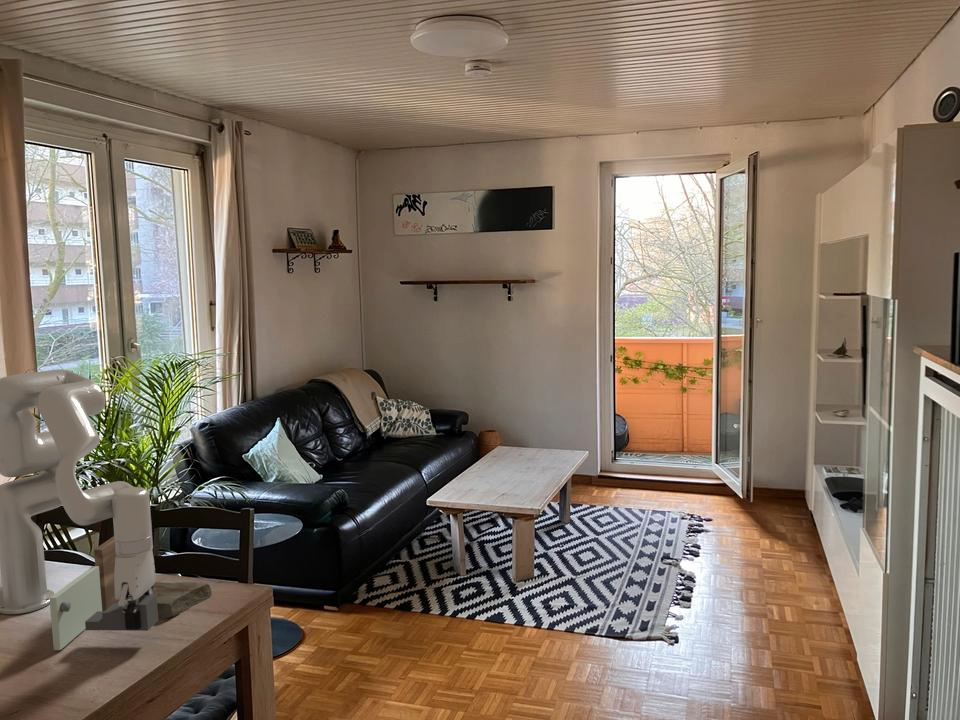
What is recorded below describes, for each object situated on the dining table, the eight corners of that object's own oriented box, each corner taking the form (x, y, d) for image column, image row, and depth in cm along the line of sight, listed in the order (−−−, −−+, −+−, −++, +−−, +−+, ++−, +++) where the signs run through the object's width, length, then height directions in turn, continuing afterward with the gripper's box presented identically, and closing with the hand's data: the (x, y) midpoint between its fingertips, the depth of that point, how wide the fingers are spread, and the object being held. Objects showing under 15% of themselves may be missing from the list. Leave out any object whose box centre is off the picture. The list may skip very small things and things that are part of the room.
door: (53, 650, 169) (49, 597, 168) (96, 613, 187) (92, 566, 185) (65, 650, 169) (61, 597, 168) (107, 613, 187) (103, 566, 185)
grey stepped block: (85, 630, 171) (83, 604, 170) (97, 619, 176) (95, 594, 175) (148, 630, 170) (146, 604, 169) (158, 620, 175) (156, 594, 174)
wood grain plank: (98, 612, 188) (94, 549, 186) (126, 589, 202) (122, 530, 200) (106, 612, 188) (102, 549, 186) (133, 589, 202) (129, 530, 200)
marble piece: (213, 595, 198) (212, 580, 198) (184, 622, 184) (183, 605, 183) (152, 592, 201) (151, 577, 200) (118, 618, 186) (117, 602, 186)
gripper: (136, 530, 179) (141, 605, 181) (96, 559, 162) (103, 641, 164) (167, 531, 179) (172, 606, 181) (131, 559, 162) (137, 641, 164)
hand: (139, 621), depth 173 cm, fingers closed on grey stepped block, 5 cm apart
